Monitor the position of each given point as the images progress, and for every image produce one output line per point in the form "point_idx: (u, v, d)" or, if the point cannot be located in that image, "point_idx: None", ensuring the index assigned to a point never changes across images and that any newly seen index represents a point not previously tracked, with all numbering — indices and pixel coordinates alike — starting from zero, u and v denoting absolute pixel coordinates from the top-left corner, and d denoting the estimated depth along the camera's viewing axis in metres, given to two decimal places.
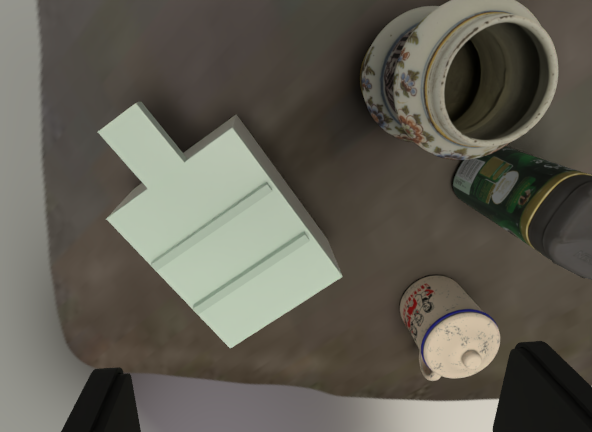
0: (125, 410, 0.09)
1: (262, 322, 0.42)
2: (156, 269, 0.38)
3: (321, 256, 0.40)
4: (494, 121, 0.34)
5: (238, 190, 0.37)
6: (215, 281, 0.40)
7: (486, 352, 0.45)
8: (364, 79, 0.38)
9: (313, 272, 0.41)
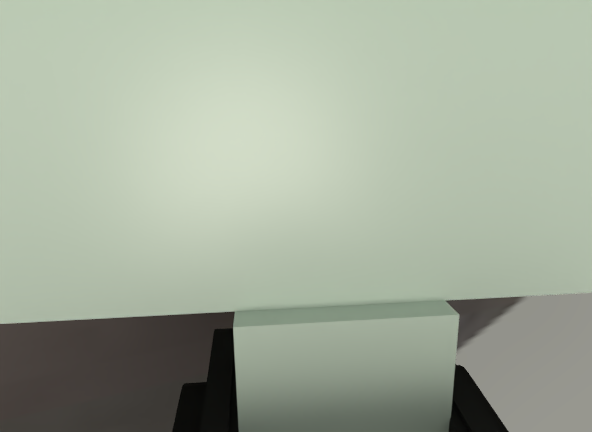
0: None
1: None
2: None
3: None
4: None
5: (85, 33, 0.06)
6: None
7: None
8: None
9: None
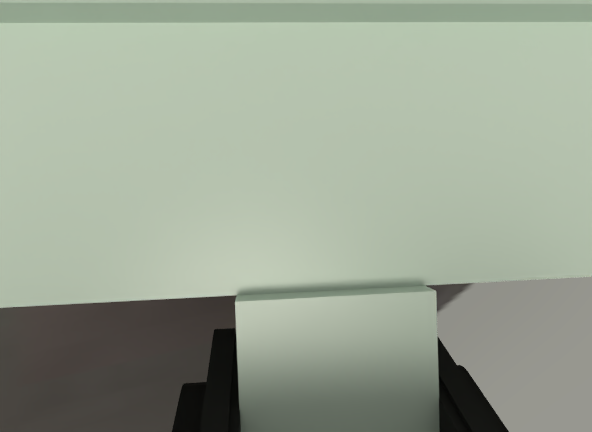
0: None
1: None
2: None
3: None
4: None
5: (124, 64, 0.08)
6: None
7: None
8: None
9: None
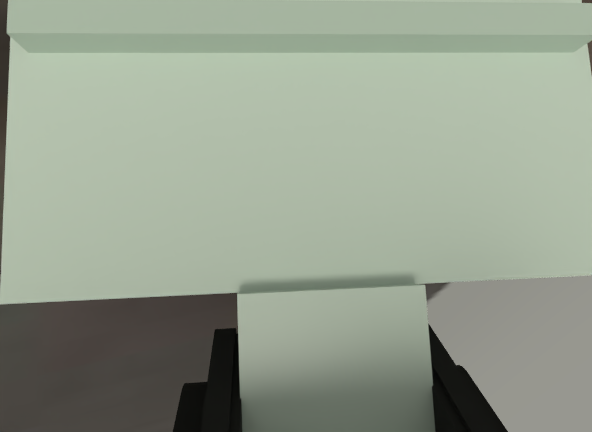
0: None
1: None
2: (589, 8, 0.10)
3: None
4: None
5: (143, 87, 0.10)
6: None
7: None
8: None
9: None
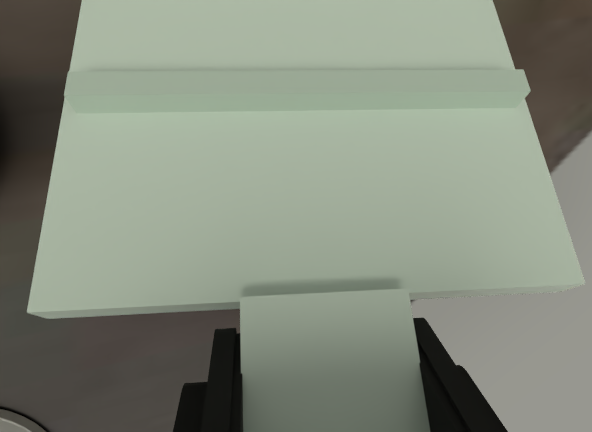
0: None
1: None
2: (520, 73, 0.12)
3: None
4: None
5: (165, 136, 0.12)
6: None
7: None
8: None
9: None
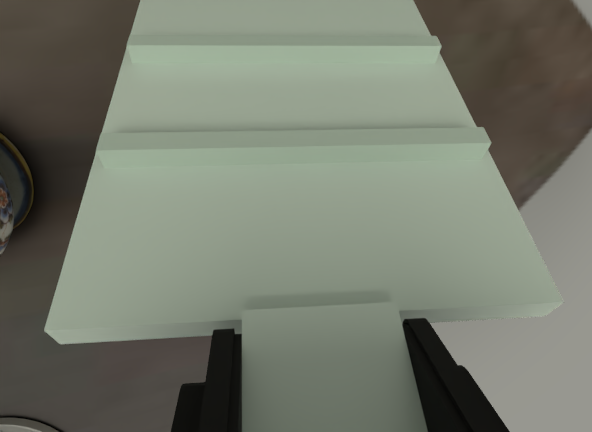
0: None
1: None
2: (480, 129, 0.15)
3: (145, 22, 0.19)
4: None
5: (179, 184, 0.14)
6: (366, 73, 0.18)
7: None
8: (0, 249, 0.28)
9: (181, 11, 0.20)
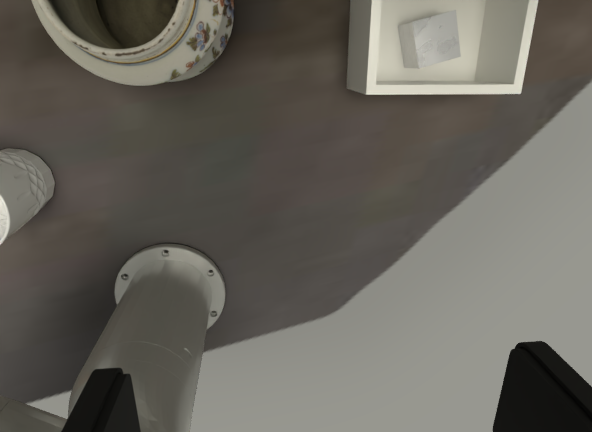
0: (125, 410, 0.09)
1: None
2: None
3: None
4: None
5: None
6: None
7: None
8: (223, 47, 0.35)
9: None
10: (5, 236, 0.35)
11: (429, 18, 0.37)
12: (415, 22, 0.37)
